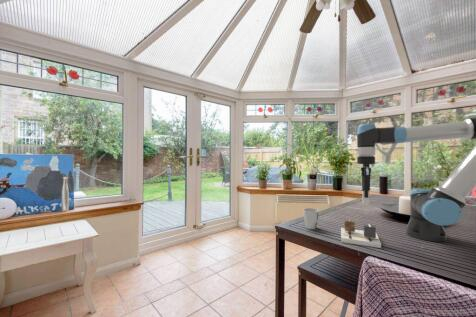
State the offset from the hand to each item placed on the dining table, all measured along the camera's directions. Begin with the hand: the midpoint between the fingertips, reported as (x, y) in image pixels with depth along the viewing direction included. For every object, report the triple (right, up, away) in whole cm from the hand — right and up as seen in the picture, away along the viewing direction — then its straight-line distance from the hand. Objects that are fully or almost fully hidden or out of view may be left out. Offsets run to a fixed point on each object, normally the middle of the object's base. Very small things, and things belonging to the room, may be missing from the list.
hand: (365, 203), depth 105 cm
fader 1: (-7, -14, +1) cm, 15 cm away
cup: (-22, -17, +14) cm, 31 cm away
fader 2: (-2, -14, -7) cm, 15 cm away
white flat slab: (-5, -17, -2) cm, 17 cm away
